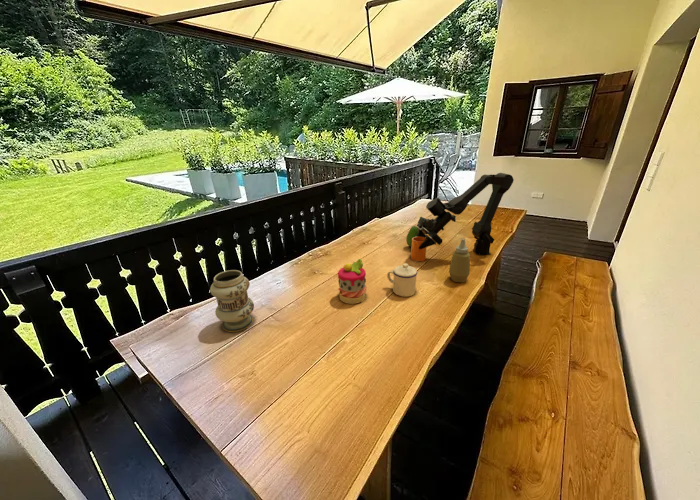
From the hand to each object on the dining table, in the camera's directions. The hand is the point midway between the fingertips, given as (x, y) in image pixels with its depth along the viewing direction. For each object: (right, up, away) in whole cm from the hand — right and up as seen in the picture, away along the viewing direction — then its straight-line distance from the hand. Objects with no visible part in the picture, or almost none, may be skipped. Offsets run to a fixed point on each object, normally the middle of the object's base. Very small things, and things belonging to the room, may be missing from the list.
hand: (416, 245), depth 144 cm
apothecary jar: (-70, -27, -43) cm, 86 cm away
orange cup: (+1, -6, +3) cm, 7 cm away
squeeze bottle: (+14, -15, -18) cm, 27 cm away
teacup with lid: (-12, -18, -25) cm, 33 cm away
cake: (-31, -20, -29) cm, 47 cm away
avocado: (+2, -1, +16) cm, 16 cm away
